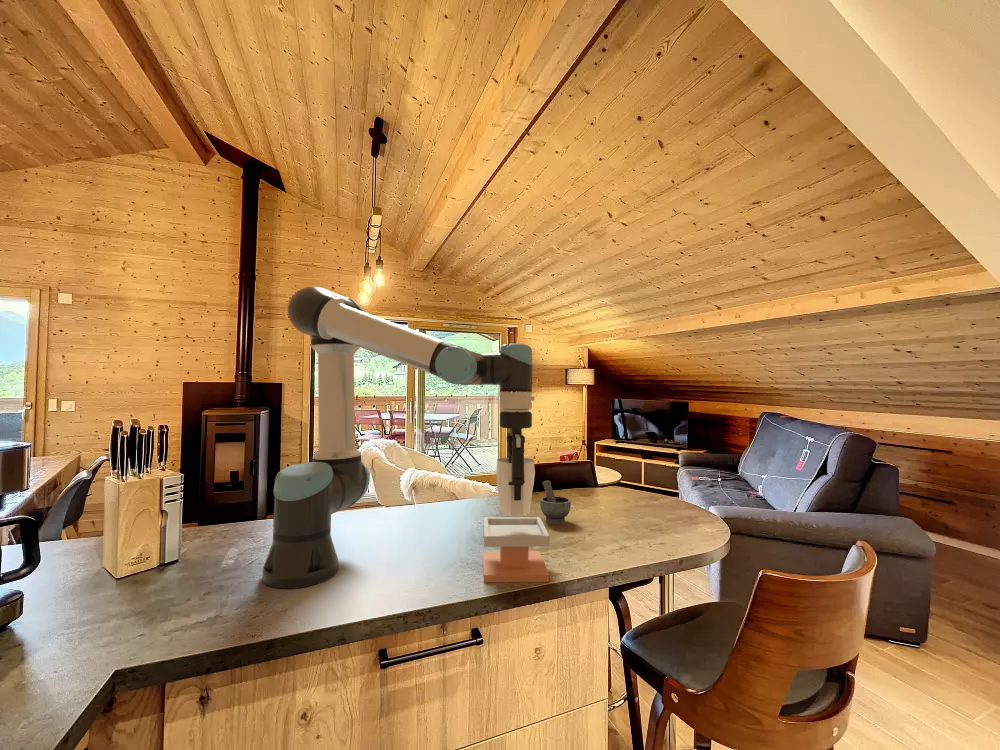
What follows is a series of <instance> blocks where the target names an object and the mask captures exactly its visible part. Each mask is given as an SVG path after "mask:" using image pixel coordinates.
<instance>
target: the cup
mask: <svg viewBox="0 0 1000 750" xmlns="http://www.w3.org/2000/svg"><path fill="white" fill-rule="evenodd" d="M535 475H536V469H535V460H534V459H533V458H528V457H524V480H525V483H524V484H523V515H511V485H509V484H508V483H509V482H511V481H512V463H509V458H508V457H500V458H498V459H496V468H495V476H496V484H497V491H498V492H497V493H498V500H499V506H500V507H499V509H500V513H501V514H503V515H504V516H507V517H508V516H510V517H523V516H524V517H525V516H527V515H528V514H529V513H530V511H531V503H532V496H533V490H534V485H535V484H534V483H535Z"/></svg>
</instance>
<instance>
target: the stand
mask: <svg viewBox="0 0 1000 750" xmlns="http://www.w3.org/2000/svg"><path fill="white" fill-rule="evenodd" d="M482 519H483V522H482V524H483V525H482V528H483V543H484V547H485V548H486V547H490V548H492V547H493V548H494V547H496V548H498V547H500V548H499V550H484V551H483V550H482V569H483V571H482V573H483V583H530V582H531V583H538V582H540V583H548V582H550V573H549V571H548V568H547V566H546V563H545V561H544V559H543V556H542V553H541V552H540V550H530V549H529V547H550V534H549V532H548V531H547V528H546V527H545V525H544V523H543V521H542V519H541V517H538V516H533V517H532V516H528V517H525V516H524V517H523V516H510V517H508V516H507V517H506V516H505V517H503V516H502V517H499V516H497V517H496V516H495V517H494V516H493V517H492V516H491V517H489V516H487V517H486V516H485V517H482Z"/></svg>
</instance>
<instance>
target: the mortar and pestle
mask: <svg viewBox="0 0 1000 750" xmlns="http://www.w3.org/2000/svg"><path fill="white" fill-rule="evenodd" d="M542 486H543V488H544V492H545V496H542V497H540V501H539V502H540V503H539V504H540V511H541V512H542V514H543V515H544V516H545V523H547V524H550V525H555V526H556V525H563V523H564V524H566V522H565V521H566V517H567V516H568V515H569V513H570V511H571V508H572V507H571V504H572V503H571V501H572V500H571V498H568V497H565V496H561V495H560V496H559V495H555V494H554V491H553V487H552V483H551V480H545V481H543V482H542Z"/></svg>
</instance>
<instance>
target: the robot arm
mask: <svg viewBox="0 0 1000 750" xmlns="http://www.w3.org/2000/svg"><path fill="white" fill-rule="evenodd" d="M287 316H288V319H289V320H290V321H289V322H291V324H292V325H293V327H294V328H295V329H296V330H297V331H299V332H300V333H302V334H304V335H307V336H310V338H311V340H310V342H311V344H310V345H311V349H312V350H313V351H315V352H316V354H317V369H318V370H317V374H318V376H317V379H318V380H317V383H318V388H317V389H318V390H317V391H318V395H317V397H318V450H317V451H316V453H314V454H313V456H312V461H311V462H309V461H308V462H303V463H297V464H293V465H292V464H291V465H289V466H287V467H285V468H282V469H281V470H280V471H279V472H277V474H276V476H275V479H274V487H273V525H272V526H273V527H272V528H273V529H272V531H273V532H272V543H271V545H270V548H269V551H268V554H267V557H266V559H265V562H264V565H263V567H262V579H261V580H262V582H263V584H264V585H266V586H268V587H271V588H276V589H299V588H304V587H309V586H314V585H316V584H319V583H322V582H325V581H327V580H329V579H331V578H332V577H333V576H335V575H336V574H337V572H338V571H339V557H338V555H337V554H338V553H337V551H336V548H335V545H334V542H333V538H332V536H331V532H332V531H331V530H332V515H333V514H335V513H337V512H339V511H342V510H344V509H348V508H349V507H351V506H353V505H354V504H356V503H357V502H358V501H360V500H361V499H362V498H363V497H364V496H365V495H366V493H367V492H368V489H369V485H370V479H371V478H370V472H369V469H368V467H367V466H365V464H364V463H363V462H362V459H363V458H362V456H363V455H362V452H361V451H360V450H359V449H358V448H356V420H355V419H356V418H355V417H356V416H355V415H356V414H355V412H356V411H355V408H356V407H355V356H354V355H355V353H357V351H358V350H359V349H360V348H361V349H363V350H367V351H369V352H372V353H374V354H377V355H380V356H382V357H385V358H387V359H391V360H394V361H396V362H399V363H401V364H404V365H407V366H409V367H411V368H415V369H417V370H419V371H423V372H425V373H428V374H430V375H433V376H434V377H437V378H439V379H440V378H441V379H442V380H443V381H444V382H446V383H448V384H452V385H455V386H456V385H459V386H460V385H461V386H470V385H471V386H488V385H489V386H491V385H494V386H496V385H497V386H499V409H500V410H502V411H500V412H499V426H500V428H502V429H509V432H508V433H507V434H506V449H507V458H509V463H512V481H511V482H509V483H508V484H509V485H511V515H523V484H524V483H525V480H524V458H525V443H526V437H525V436H524V434H523V431H522V430H523V429H530V428H532V427H533V426H532V425H533V413H532V411H530V410H531V409H532V408H533V401H535V396H533V366H534V364H533V352H532V351H533V350H532V347H531V346H530V345H528V344H525V343H506V344H505V343H503V344H502V345H501V346H500V349H499V352H496V353H495V352H494V353H486V352H482V353H478V352H474V351H473V350H469V349H467V348H465V347H462V346H459V345H456V344H453V343H449V342H446V341H444V340H443V339H439V338H436V337H434V336H430V335H427V334H425V333H423V332H421V331H417V330H414V329H411V328H409V327H406V326H403V325H401V324H398V323H395V322H392V321H390V320H386V319H384V318H381V317H378V316H375V315H372V314H370V313H368V312H365V311H364V309H363V308H362V306H361V305H360V304H358V303H357V302H356V301H354V300H353V299H352V298H349V297H347V296H345V295H341V294H338V293H335V292H332V291H330V290H328V289H325V288H322V287H319V286H306V287H303V288H300V289H299V290H297V291H295V293H294V294H293V295H292V296H291V297H290V299H289V302H288V304H287Z"/></svg>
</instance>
